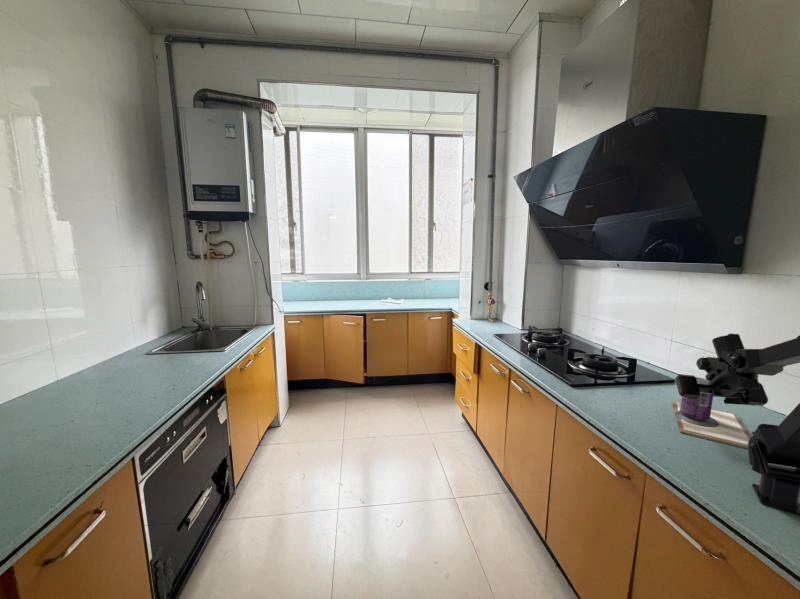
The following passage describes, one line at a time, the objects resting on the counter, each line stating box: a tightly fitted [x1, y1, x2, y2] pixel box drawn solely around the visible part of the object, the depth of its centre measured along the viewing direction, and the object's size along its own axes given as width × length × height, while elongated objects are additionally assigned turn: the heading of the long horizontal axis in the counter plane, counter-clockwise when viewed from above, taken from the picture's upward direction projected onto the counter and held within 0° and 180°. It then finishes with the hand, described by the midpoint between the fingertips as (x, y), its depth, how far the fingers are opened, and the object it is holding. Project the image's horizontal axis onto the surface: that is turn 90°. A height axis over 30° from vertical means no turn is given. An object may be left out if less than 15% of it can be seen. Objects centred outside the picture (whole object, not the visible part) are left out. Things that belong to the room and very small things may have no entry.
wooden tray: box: [671, 401, 752, 450], centre depth 100 cm, size 22×16×1 cm
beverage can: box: [680, 376, 714, 420], centre depth 102 cm, size 7×7×12 cm
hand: (705, 399), depth 98 cm, fingers open, 9 cm apart
